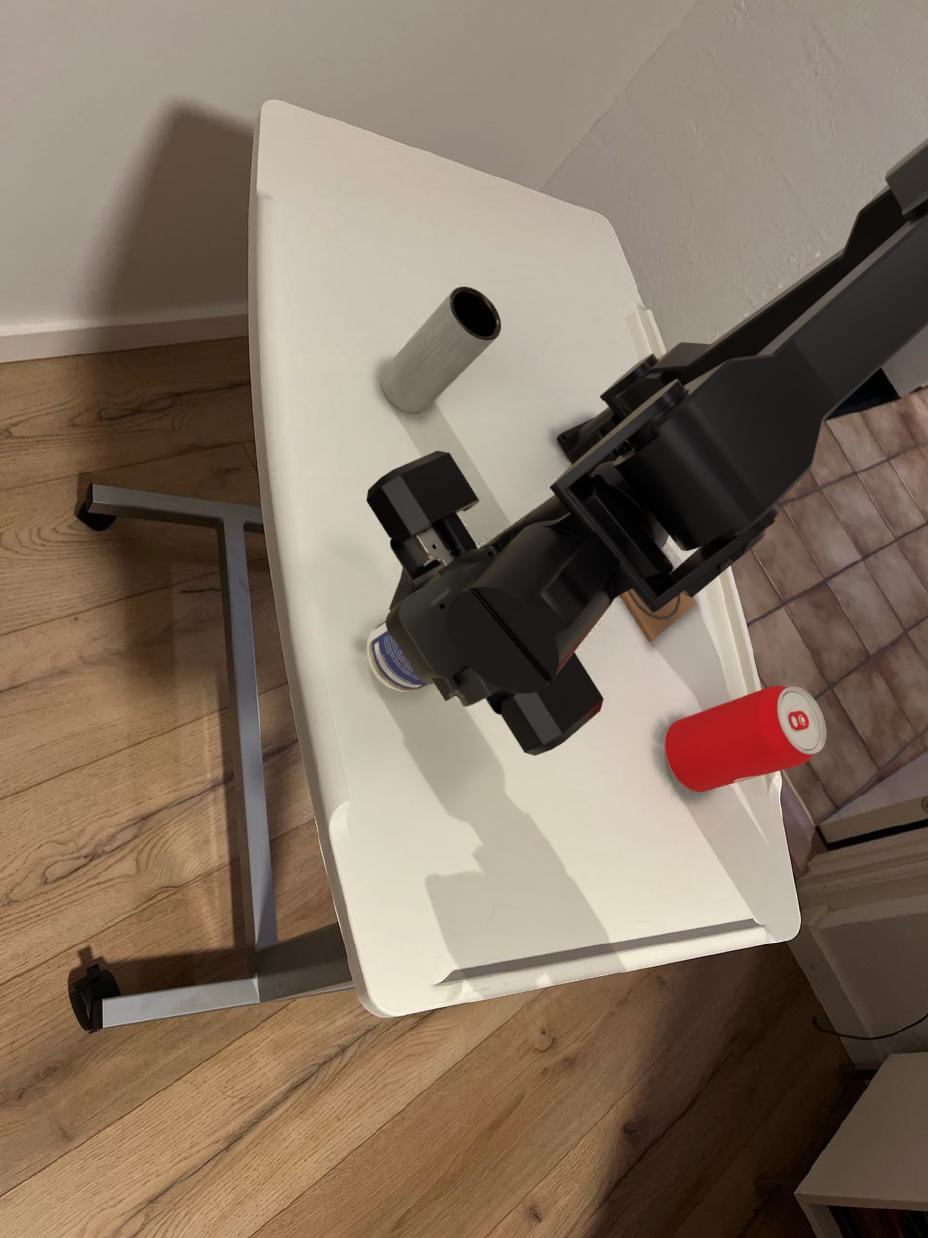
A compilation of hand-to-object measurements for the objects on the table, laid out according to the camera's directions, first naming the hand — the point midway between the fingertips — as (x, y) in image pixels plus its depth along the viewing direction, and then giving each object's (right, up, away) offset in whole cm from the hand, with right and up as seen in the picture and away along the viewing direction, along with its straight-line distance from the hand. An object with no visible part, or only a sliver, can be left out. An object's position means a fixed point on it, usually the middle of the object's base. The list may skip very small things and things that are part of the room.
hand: (417, 644), depth 61 cm
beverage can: (+22, -10, +15) cm, 28 cm away
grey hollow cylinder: (-2, +20, +12) cm, 24 cm away
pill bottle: (-2, -1, +2) cm, 3 cm away
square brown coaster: (+20, +5, +20) cm, 29 cm away
